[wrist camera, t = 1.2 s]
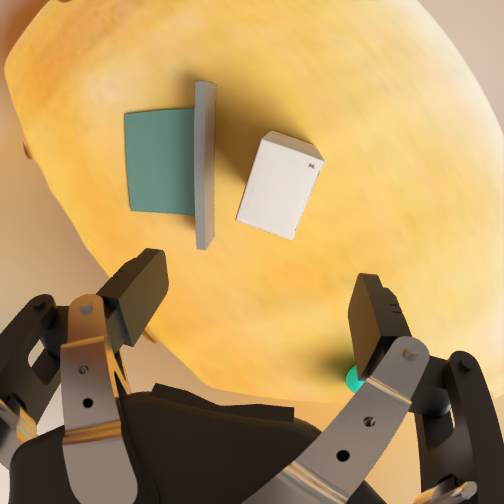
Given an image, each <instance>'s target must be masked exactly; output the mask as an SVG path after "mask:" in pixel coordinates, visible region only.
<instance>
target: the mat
mask: <svg viewBox="0 0 504 504" xmlns="http://www.w3.org/2000/svg"><path fill="white" fill-rule="evenodd" d="M194 114H195V108H192V109H173V110H160V111H149V112H139V113H131V114H125V142H126V161H127V175H128V187H129V197H130V207H131V211H141V212H156V213H171V214H184V215H195V189H194Z"/></svg>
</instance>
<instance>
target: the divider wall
mask: <svg viewBox="0 0 504 504" xmlns="http://www.w3.org/2000/svg"><path fill="white" fill-rule="evenodd" d="M215 109H216V84H213V83H211V82H208V81H198V82H196V83H195V114H194V189H195V222H196V245H197V249H201V250H206V249H207V247H208V246H209V244H210V243H211V241H212V239H213V238H214V148H215Z"/></svg>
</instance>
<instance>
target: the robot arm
mask: <svg viewBox="0 0 504 504" xmlns="http://www.w3.org/2000/svg"><path fill="white" fill-rule="evenodd" d="M168 286H169V281H168V273H167V265H166V257H165V253H164V251H163V250H158V249H150V248H146V249H145V250H144V251H143V252H142V253H141V254H140V255H139V256H138V257H137V258H133V259H132V260H130V261H128V262H126V263H125V264H124V265H123V266H122V267H121V268H120V269H119V270H118V271H117V272H116V273H115V274H114V275H113V277H111V278H110V279H109V280H108V281H107V282H106V284H105V285H104V286H103V287H102V288H101V289H100V290H99V291H98V292H97V293H96V294H86V295H83V296H80V297H78V298H76V299H75V300H74V301H73V302H72V303H71V304H70V306H56V303H55V301H54V299H53V297H52V296H51V295H48V294H42V295H39V296H36V297H34V298H33V299H32V300H30V301H29V302H28V303H27V304H26V305H25V307H24V308H23V309H22V310H21V311H20V312H19V313H18V314H17V315H16V316H15V318H14V319H13V320H12V321H11V322H10V323H9V325H8V326H7V327H6V328H5V329H4V330H3V332H2V333H1V334H0V463H1V464H2V465H3V466H5V467H6V468H7V469H8V470H9V473H10V493H9V503H8V504H386V502H385V501H384V500H383V499H382V498H381V497H380V496H379V495H378V494H377V493H376V492H375V491H374V490H373V488H372V487H371V486H370V485H369V484H368V483H367V482H366V481H365V480H364V478H365V477H366V476H367V475H368V473H369V472H370V470H371V469H372V468H373V466H374V465H375V463H376V462H377V461H378V459H379V458H380V456H381V455H382V453H383V452H384V450H385V449H386V447H387V446H388V444H389V443H390V441H391V439H392V438H393V436H394V435H395V433H396V431H397V429H398V428H399V426H400V424H401V423H402V421H403V419H404V417H405V415H406V414H407V412H412V413H414V415H415V423H416V430H417V438H418V448H419V458H420V474H421V494H420V495H419V496H418V497H417V498H416V499H415V501H414V503H413V504H504V443H503V438H502V434H501V430H500V426H499V423H498V419H497V415H496V412H495V408H494V405H493V402H492V399H491V396H490V393H489V390H488V387H487V384H486V382H485V379H484V376H483V373H482V371H481V368H480V366H479V364H478V362H477V360H476V359H475V358H474V357H473V356H472V355H471V354H469V353H467V352H465V351H456V352H454V353H452V355H451V356H450V358H449V359H448V360H445V359H441V358H437V357H433V356H430V355H429V351H428V349H427V347H426V346H425V345H424V344H423V343H422V342H421V341H420V340H418V339H416V338H413V337H412V335H411V333H410V330H409V327H408V325H407V322H406V320H405V317H404V315H403V314H402V310H401V308H400V306H399V303H398V300H397V298H396V296H395V295H394V294H393V293H392V292H391V291H390V290H389V289H388V288H383V286H382V284H381V281H380V279H379V277H378V275H375V274H366V273H359V275H358V277H357V280H356V283H355V287H354V290H353V294H352V297H351V300H350V304H349V309H348V320H349V326H350V331H351V337H352V343H353V349H354V356H355V362H356V369H357V377H358V381H365V382H364V383H363V384H362V386H361V387H360V388H359V390H358V391H357V392H356V393H355V395H354V396H353V397H352V398H351V400H350V401H349V402H348V403H347V405H346V406H345V407H344V408H343V409H342V411H341V412H340V413H339V414H338V415H337V416H336V418H335V419H334V420H333V421H332V422H331V423H330V424H329V426H328V427H327V428H326V429H325V430H324V431H323V432H321V431H320V430H319V429H318V428H316V427H315V426H313V425H311V424H310V423H308V422H306V421H303V420H301V419H298V418H295V417H294V408H293V407H282V406H273V405H263V404H250V405H233V406H220V405H217V404H214V403H212V402H210V401H208V400H205V399H203V398H201V397H199V396H197V395H195V394H193V393H190V392H188V391H186V390H181V389H177V388H173V387H169V386H165V385H162V384H158V383H155V385H154V387H153V390H152V392H148V391H147V392H136V393H132V392H131V389H130V386H129V382H128V378H127V374H126V370H125V366H124V362H123V358H122V354H121V350H120V347H121V346H122V345H123V344H124V345H128V346H131V347H134V345H135V343H136V342H137V340H138V339H139V337H140V335H141V334H142V332H143V331H144V329H145V327H146V326H147V324H148V323H149V321H150V319H151V318H152V316H153V315H154V313H155V311H156V310H157V308H158V307H159V305H160V304H161V302H162V300H163V299H164V297H165V296H166V294H167V291H168ZM39 339H40V340H41V342H42V344H43V346H44V347H45V349H44V350H43V352H42V353H41V354H40V356H39V357H38V359H37V360H36V361H35V363H34V364H33V366H32V367H30V365H29V363H28V355H29V353H30V351H31V350H32V349H33V347H34V346H35V345H36V343H37V342H38V341H39ZM60 383H61V392H62V405H63V415H64V425H62V426H60V427H58V428H56V429H54V430H51V431H49V432H47V433H45V434H42V435H40V436H38V435H37V434H36V432H37V427H36V426H37V424H38V422H39V420H40V418H41V416H42V414H43V413H44V411H45V409H46V407H47V405H48V404H49V401H50V400H51V398H52V396H53V394H54V393H55V391H56V389H57V388H58V386H59V384H60ZM451 408H452V412H453V417H454V421H455V428H453V423H452V418H451V413H450V409H451Z"/></svg>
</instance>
